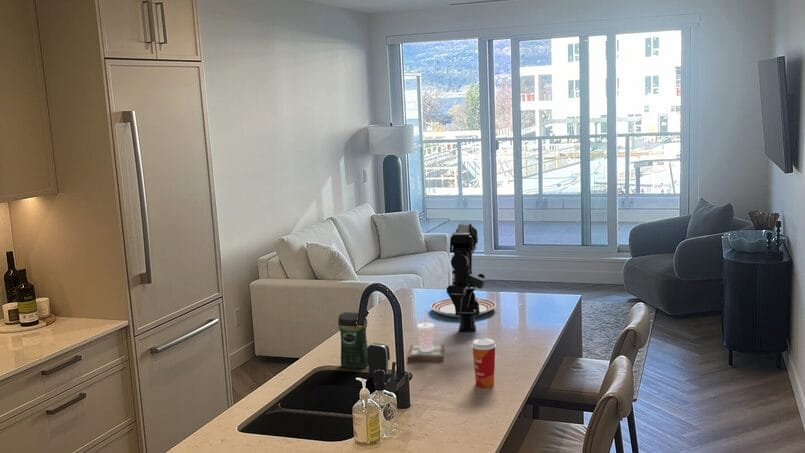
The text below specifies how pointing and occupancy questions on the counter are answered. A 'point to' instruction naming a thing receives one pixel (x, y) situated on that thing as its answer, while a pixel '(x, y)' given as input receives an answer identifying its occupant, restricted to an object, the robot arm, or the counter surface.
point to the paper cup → (484, 362)
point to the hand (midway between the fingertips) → (462, 310)
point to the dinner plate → (448, 307)
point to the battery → (377, 357)
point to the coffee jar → (352, 341)
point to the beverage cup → (426, 336)
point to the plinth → (426, 354)
